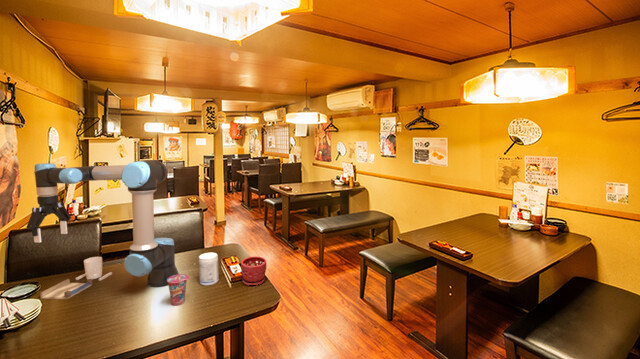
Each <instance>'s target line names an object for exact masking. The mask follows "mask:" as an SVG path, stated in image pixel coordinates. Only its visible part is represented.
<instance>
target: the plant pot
mask: <svg viewBox="0 0 640 359" xmlns="http://www.w3.org/2000/svg"><path fill="white" fill-rule="evenodd" d="M240 265H241V266H240V267H241V268H240V269H241V270H240V271H241V274H242V283H243V284H244V285H245V286H249V285H256V286H259V285H261V284H263V283H264V282H265V279H266V277H265V275H266V272H267V259H266V258H265V257H263V256H262V257H261V256H248V257H246V258H244V259H242V260H241V264H240ZM258 284H259V285H258Z"/></svg>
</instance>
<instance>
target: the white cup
mask: <svg viewBox="0 0 640 359" xmlns="http://www.w3.org/2000/svg"><path fill="white" fill-rule="evenodd" d="M83 265H84V274H85V273H86V276H85V277H86V279H87V280H88V279H92V280H96V279H99V278H101V277H102V276H103V257H102V256H92V257H89V258H85V259H84V260H83Z"/></svg>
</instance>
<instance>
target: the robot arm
mask: <svg viewBox="0 0 640 359" xmlns="http://www.w3.org/2000/svg"><path fill="white" fill-rule="evenodd" d="M33 173H34V179H35V189H36V195H37V197H36V201H37V204H38V205H39V206H38V207H32V208H31V214H30V218H29V219H28V223H27V225H26V229H27V230H31V235H32V236H33V242H34V243H39V244H40V243H42V234H41V233H42V232H41V228H40V226H41V224H42V223H43V221H44V220H45V218H46V217H47V216H49V215H52V214H54V215H55V216H56V217H57V218H58V219H59V220H60V221H59V227H60V234H61V235H68V222H69V221H70V219H71V218H72V217H71V215H70V213H69V212H68V210H67V208H66V206H65V203H64V202H60V199H59V190H58V189H59V188H58V184H63V185H65V184H67V185H72V184H78V183H82V182H89V181H122V183H123V184H124V186H126V187H127V191H128V192H129V193H130V194H131V205H132V206H131V207H132V211H131V212H132V238H133V240H132V241H133V243H132V244H131V245H130V246H129V255H127V256H126V257H125V259H124V263H123V265H124V268H125V270H126V271H127V272H128V273H129V274H130V275H132V276H134V277H143V276H146V275H147V278H146V285H148V286H149V287H151V288H152V287H153V288H160V287H166V286H169V285H168V281H167V279H168V278H169V277H171V276H173V275H177V274H180V272H179V271H178V268H177V266H176V260H175V258H176V257H175V255H176V254H175V242H174V241H175V240H174V239H173V238H171V237H156V238H155V215H154V214H155V212H154V209H155V208H154V206H155V205H154V193H155V192H156V191H157V190H158V187H157V186H158V184H161V183H162V182H164V181H165V180H166V178H167V176H168V173H169V172H168V168H167V166H166V165H165V164H164V163H163V162H162V161H158V160H142V161H141V160H139V161H133V162H132V161H131V162H130V163H128V164H125V165H124V164H123V165H122V164H121V165H89V166H75V167H57V166H56V163H48V162H47V163H44V162H43V163H36V164H34V172H33Z"/></svg>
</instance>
